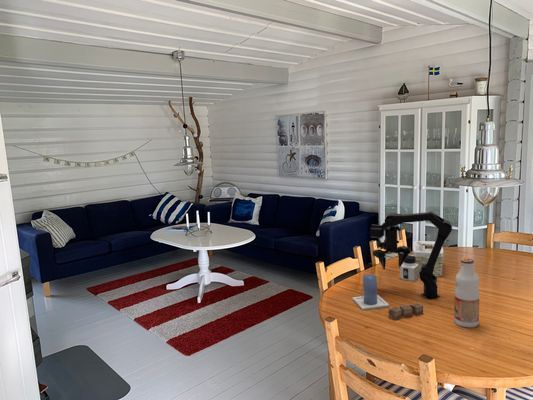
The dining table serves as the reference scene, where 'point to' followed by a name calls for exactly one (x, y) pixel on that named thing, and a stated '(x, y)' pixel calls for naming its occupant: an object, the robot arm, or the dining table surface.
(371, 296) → the blue cylinder
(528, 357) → the dining table surface
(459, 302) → the fruit juice
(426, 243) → the storage basket
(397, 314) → the walnut block
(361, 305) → the tray
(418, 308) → the walnut block
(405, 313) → the walnut block
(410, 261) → the container
